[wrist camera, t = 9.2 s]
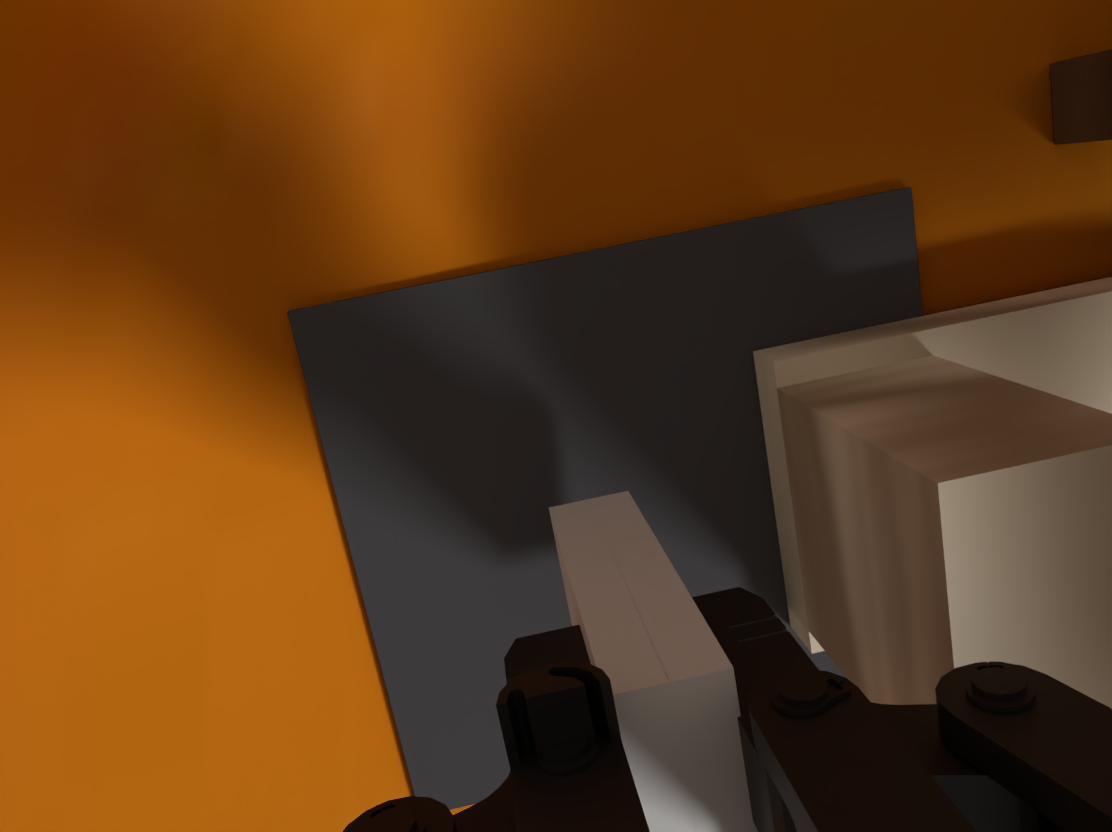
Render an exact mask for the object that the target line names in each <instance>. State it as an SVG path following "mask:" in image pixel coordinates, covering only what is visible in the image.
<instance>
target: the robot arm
mask: <svg viewBox="0 0 1112 832" xmlns="http://www.w3.org/2000/svg"><path fill="white" fill-rule="evenodd" d="M549 512H550V517H551V522H552V527H553V532H554V537H555V542H556V547H557V552H558V557H559V562H560V567H561V572H562V577H563V583H564V588H565V593H566V598H567V603H568V608H569V613H570V618H571V623H572V626H570V627H566V628H561V629H557V630H552V631H548V632H543V633H539V634H534V635H530V636H525V637H520V638H516V639H515V641H514V642H513V644H512V646H511V647H510V649H509V651H508V652H507V654H506V656H505V657H504V663H505V673H506V680H507V681H506V683H507V684H506V686H505V687H504V688H503V689H502V690H501V691H500V692H499V695H498V699H497V703H496V708H497V712H498V717H499V721H500V726H501V730H502V734H503V739H504V743H505V748H506V752H507V757H508V761H509V765H510V773H509V775H508V777H507V778H506V780H505V781H504V782H503V783H502V784H501V786H500V787H499V788H498V789H497V790H495V791H494V792H493V793H492V794H491V795H489V796H488V797H487V798H485V799H484V800H482V801H480V802H478V803H477V804H475V805H473V806H471V807H470V808H467V809H465V810H463V811H461V812H459V813H457V814H455V815H452V814H451V812H450V810H449V809H448V807H447V806H446V805H445V804H443V803H441V802H439V801H437V800H435V799H433V798H431V797H416V796H409V797H404V798H399V799H394V800H389V801H387V802H384V803H382V804H380V805H377V806H375V807H373V808H371V809H369V810H367V811H365V812H364V813H363V814H361V815H360V816H359V817H358V818H356V819H355V820H354V821H352V822H351V823H350V824H348V825H347V827H346V828H345V829H344V831H343V832H1112V709H1111V708H1110V707H1108V706H1106V705H1104V704H1102V703H1100V702H1098V701H1096V700H1094V699H1092V698H1090V697H1089V696H1087V695H1085V694H1083V693H1081V692H1079V691H1077V690H1075V689H1073V688H1071V687H1070V686H1068V685H1066V684H1064V683H1062V682H1060V681H1058V680H1056V679H1054V678H1052V677H1050V676H1049V675H1047V674H1044V673H1042V672H1039V671H1036V670H1034V669H1031V668H1029V667H1026V666H1022V665H1016V664H1009V663H1004V662H992V661H989V662H978V663H973V664H969V665H965V666H961V667H957V668H954V669H953V670H951V671H950V672H948V673H947V674H945V675H943V676H942V677H941V678H940V680H939V682H938V684H937V686H936V688H935V692H936V703H937V704H914V705H892V704H878V703H873V702H870V701H869V699H868V698H867V697H866V696H865V695H864V693H863V692H862V691H861V690H860V689H859V687H857V686H856V685H855V684H853V683H852V682H851V681H850V680H848V679H847V678H846V677H843V676H840V675H837V674H834V673H831V672H828V671H820V670H819V669H818V668H817V667H816V665H815V664H814V663H813V662H812V660H811V659H810V658H809V656H808V655H807V654H806V653H805V651H804V650H803V649H802V647H801V646H800V645H799V644H798V642H797V641H796V640H795V638H794V637H793V636H792V635H791V633H790V632H789V631H788V632H787V629H786V627H785V625H784V624H783V623H782V622H781V620H780V619H779V618H777V617H776V614H775V613H774V611H773V610H772V609H771V607H770V606H769V605H768V604H767V602H766V601H765V600H764V598H762V597H760V596H758V595H756V594H754V593H751V592H749V591H747V590H745V589H743V588H741V587H736V588H731V589H727V590H722V591H718V592H713V593H709V594H704V595H700V596H695V597H691V595H690V594H689V592H688V590H687V589H686V587H685V585H684V584H683V582H682V580H681V579H680V577H679V575H678V574H677V572H676V570H675V569H674V567H673V565H672V563H671V562H670V560H669V558H668V557H667V555H666V553H665V552H664V550H663V548H662V547H661V545H660V543H659V542H658V540H657V538H656V537H655V535H654V533H653V532H652V530H651V528H650V526H649V525H648V523H647V521H646V520H645V518H644V516H643V515H642V513H641V511H640V510H639V508H638V506H637V505H636V503H635V501H634V500H633V498H632V496H631V495H630V493H629V491H625V492H620V493H615V494H610V495H606V496H601V497H596V498H592V499H587V500H582V501H577V502H573V503H568V504H563V505H559V506H554V507H549Z"/></svg>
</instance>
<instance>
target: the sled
mask: <svg viewBox="0 0 1112 832" xmlns="http://www.w3.org/2000/svg"><path fill="white" fill-rule="evenodd" d="M753 355H754V363H755V370H756V377H757V385H758V392H759V399H760V407H761V414H762V421H763V429H764V436H765V443H766V451H767V458H768V465H769V473H770V480H771V487H772V494H773V502H774V509H775V516H776V524H777V531H778V538H779V546H780V553H781V560H782V568H783V575H784V582H785V590H786V597H787V604H788V612H789V619H790V626H791V628H792V629H793V630H794V631H795V633H796V634H797V635H798V637H799V638H800V639H801V640H802V642H803V643H804V644H805V646H806V647H807V648H808V649H809V651H810V652H811V653H812V654H813V653H817V652H822V651H825V652H826V653H827V654H828V656H829V657H830V658H831V659H832V660H833V662H834V663H835V664H836V665H837V667H838V668H839V669H840V670H841V672H842V673H843V674H844V675H845V677H846V678H847V679H848V680H850V681H851V682H852V683H853V684H855V685H856V686H857V687H859V689H860V690H861V691H862V692H863V693H864V695H865V696H866V697H867V698H868V699H869V701H870V702H873V703H878V704H892V705H914V704H937V703H936V692H935V688H936V686H937V684H938V682H939V680H940V678H941V677H942V676H943V675H945V674H947V673H948V672H950V671H951V670H953V669H954V668H957V667H961V666H965V665H969V664H973V663H978V662H989V661H992V662H1004V663H1009V664H1016V665H1022V666H1026V667H1029V668H1031V669H1034V670H1036V671H1039V672H1042V673H1044V674H1047V675H1049V676H1050V677H1052V678H1054V679H1056V680H1058V681H1060V682H1062V683H1064V684H1066V685H1068V686H1070V687H1071V688H1073V689H1075V690H1077V691H1079V692H1081V693H1083V694H1085V695H1087V696H1089V697H1090V698H1092V699H1094V700H1096V701H1098V702H1100V703H1102V704H1104V705H1106V706H1108V707H1110V708H1111V709H1112V277H1108V278H1103V279H1098V280H1093V281H1088V282H1084V283H1079V284H1074V285H1069V286H1064V287H1060V288H1055V289H1050V290H1045V291H1040V292H1036V293H1031V294H1026V295H1021V296H1016V297H1012V298H1007V299H1002V300H997V301H992V302H987V303H983V304H978V305H973V306H968V307H963V308H959V309H954V310H949V311H944V312H939V313H935V314H930V315H925V316H920V317H915V318H911V319H906V320H901V321H896V322H891V323H886V324H882V325H877V326H872V327H867V328H862V329H858V330H853V331H848V332H843V333H838V334H834V335H829V336H824V337H819V338H814V339H810V340H805V341H800V342H795V343H790V344H785V345H781V346H776V347H771V348H766V349H761V350H757V351H753Z"/></svg>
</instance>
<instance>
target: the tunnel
mask: <svg viewBox="0 0 1112 832" xmlns="http://www.w3.org/2000/svg"><path fill="white" fill-rule="evenodd" d="M1050 66H1051V86H1052V106H1053V127H1054V145H1058V144H1068V143H1079V142H1090V141H1100V140H1111V139H1112V50H1108V51H1103V52H1099V53H1095V54H1090V55H1086V56H1082V57H1077V58H1073V59H1069V60H1065V61H1060V62H1056V63H1052V64H1050Z"/></svg>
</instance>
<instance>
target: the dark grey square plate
mask: <svg viewBox="0 0 1112 832" xmlns="http://www.w3.org/2000/svg"><path fill="white" fill-rule="evenodd" d="M287 313H288V316H289V320H290V324H291V328H292V332H293V335H294V339H295V343H296V347H297V350H298V354H299V358H300V362H301V366H302V369H303V373H304V377H305V381H306V385H307V388H308V392H309V396H310V400H311V404H312V407H313V411H314V415H315V419H316V423H317V426H318V430H319V434H320V438H321V442H322V445H323V449H324V453H325V457H326V460H327V464H328V468H329V472H330V476H331V479H332V483H333V487H334V491H335V495H336V498H337V502H338V506H339V510H340V514H341V517H342V521H343V525H344V529H345V533H346V536H347V540H348V544H349V548H350V552H351V555H352V559H353V563H354V567H355V570H356V574H357V578H358V582H359V586H360V589H361V593H362V597H363V601H364V605H365V608H366V612H367V616H368V620H369V624H370V627H371V631H372V635H373V639H374V643H375V646H376V650H377V654H378V658H379V662H380V665H381V669H382V673H383V677H384V680H385V684H386V688H387V692H388V696H389V699H390V703H391V707H392V711H393V715H394V718H395V722H396V726H397V730H398V734H399V737H400V741H401V745H402V749H403V753H404V756H405V760H406V764H407V768H408V772H409V775H410V779H411V783H412V787H413V790H414V794H415V796H416V797H431V798H433V799H435V800H437V801H439V802H441V803H443V804H445V805H446V806H447V807H448V809H449V810H450V809H455V808H459V807H463V806H468V805H472V804H476V803H478V802H480V801H482V800H484V799H485V798H487V797H488V796H489V795H491V794H492V793H493V792H494V791H495V790H497V789H498V788H499V787H500V786H501V784H502V783H503V782H504V781H505V780H506V778H507V777H508V775H509V773H510V765H509V761H508V757H507V752H506V748H505V743H504V739H503V734H502V730H501V726H500V721H499V717H498V712H497V708H496V703H497V699H498V695H499V692H500V691H501V690H502V689H503V688H504V687H505V686H506V684H507V683H506V681H507V680H506V673H505V663H504V657H505V656H506V654H507V652H508V651H509V649H510V647H511V646H512V644H513V642H514V641H515V639H516V638H520V637H525V636H530V635H534V634H539V633H543V632H548V631H552V630H557V629H561V628H566V627H570V626H572V623H571V618H570V613H569V608H568V603H567V598H566V593H565V588H564V583H563V577H562V572H561V567H560V562H559V557H558V552H557V547H556V542H555V537H554V532H553V527H552V522H551V517H550V512H549V507H554V506H559V505H563V504H568V503H573V502H577V501H582V500H587V499H592V498H596V497H601V496H606V495H610V494H615V493H620V492H625V491H629V493H630V495H631V496H632V498H633V500H634V501H635V503H636V505H637V506H638V508H639V510H640V511H641V513H642V515H643V516H644V518H645V520H646V521H647V523H648V525H649V526H650V528H651V530H652V532H653V533H654V535H655V537H656V538H657V540H658V542H659V543H660V545H661V547H662V548H663V550H664V552H665V553H666V555H667V557H668V558H669V560H670V562H671V563H672V565H673V567H674V569H675V570H676V572H677V574H678V575H679V577H680V579H681V580H682V582H683V584H684V585H685V587H686V589H687V590H688V592H689V594H690V595H691V597H695V596H700V595H704V594H709V593H713V592H718V591H722V590H727V589H731V588H736V587H741V588H743V589H745V590H747V591H749V592H751V593H754V594H756V595H758V596H760V597H762V598H764V600H765V601H766V602H767V604H768V605H769V606H770V607H771V609H772V610H773V611H774V613H775V614H776V617H777V618H779V619H780V620H781V622H782V623H783V624H784V625H785V627H786V629H787V632H788V631H789V632H790V633H791V635H792V636H793V637H794V638H795V640H796V641H797V642H798V644H799V645H800V646H801V647H802V649H803V650H804V651H805V653H806V654H807V655H808V656H809V658H810V659H811V660H812V662H813V663H814V664H815V665H816V667H817V668H818V669H819V670H820V671H828V672H831V673H834V674H837V675H840V676H843V677H845V675H844V674H843V673H842V672H841V670H840V669H839V668H838V667H837V665H836V664H835V663H834V662H833V660H832V659H831V658H830V657H829V656H828V654H827V653H826V652H825V651H822V652H817V653H813V654H812V653H811V652H810V651H809V649H808V648H807V647H806V646H805V644H804V643H803V642H802V640H801V639H800V638H799V637H798V635H797V634H796V633H795V631H794V630H793V629H792V628H791V626H790V619H789V612H788V604H787V597H786V590H785V582H784V575H783V568H782V560H781V553H780V546H779V538H778V531H777V524H776V516H775V509H774V502H773V494H772V487H771V480H770V473H769V465H768V458H767V451H766V443H765V436H764V429H763V421H762V414H761V407H760V399H759V392H758V385H757V377H756V370H755V363H754V355H753V351H757V350H761V349H766V348H771V347H776V346H781V345H785V344H790V343H795V342H800V341H805V340H810V339H814V338H819V337H824V336H829V335H834V334H838V333H843V332H848V331H853V330H858V329H862V328H867V327H872V326H877V325H882V324H886V323H891V322H896V321H901V320H906V319H911V318H915V317H920V316H923V314H922V303H921V292H920V280H919V269H918V258H917V246H916V235H915V224H914V212H913V201H912V190H911V187H907V188H902V189H897V190H892V191H887V192H882V193H877V194H872V195H867V196H862V197H857V198H852V199H847V200H842V201H837V202H832V203H827V204H822V205H817V206H812V207H807V208H802V209H797V210H792V211H787V212H782V213H777V214H772V215H767V216H762V217H757V218H752V219H747V220H742V221H737V222H732V223H727V224H722V225H717V226H712V227H707V228H702V229H697V230H692V231H687V232H682V233H677V234H672V235H667V236H662V237H657V238H652V239H647V240H642V241H637V242H632V243H627V244H622V245H617V246H612V247H607V248H602V249H597V250H592V251H587V252H582V253H577V254H572V255H567V256H562V257H557V258H552V259H547V260H542V261H537V262H532V263H527V264H522V265H517V266H512V267H507V268H502V269H497V270H492V271H487V272H482V273H477V274H472V275H467V276H462V277H457V278H452V279H447V280H442V281H437V282H432V283H427V284H422V285H417V286H412V287H407V288H402V289H397V290H392V291H387V292H382V293H377V294H372V295H367V296H362V297H357V298H352V299H347V300H341V301H336V302H331V303H326V304H321V305H316V306H311V307H306V308H301V309H296V310H291V311H288V312H287Z"/></svg>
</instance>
